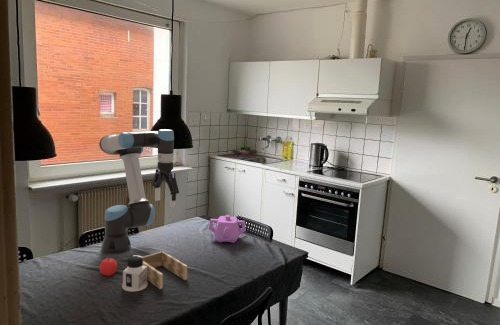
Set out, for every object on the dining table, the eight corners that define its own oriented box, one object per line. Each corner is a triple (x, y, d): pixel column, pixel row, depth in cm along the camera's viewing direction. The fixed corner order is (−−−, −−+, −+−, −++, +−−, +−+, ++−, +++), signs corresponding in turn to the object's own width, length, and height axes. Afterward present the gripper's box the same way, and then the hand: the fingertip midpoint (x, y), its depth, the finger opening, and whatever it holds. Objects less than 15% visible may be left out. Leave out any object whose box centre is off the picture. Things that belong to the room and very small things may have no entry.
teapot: (225, 248, 216) (226, 223, 214) (204, 239, 229) (205, 215, 226) (248, 240, 230) (250, 216, 228) (227, 231, 242) (228, 209, 240)
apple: (120, 271, 182) (120, 256, 181) (109, 279, 175) (109, 262, 173) (107, 268, 185) (107, 253, 183) (95, 275, 177) (95, 259, 176)
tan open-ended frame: (136, 272, 183) (136, 258, 181) (162, 263, 193) (162, 250, 191) (160, 289, 168) (160, 274, 167) (187, 279, 178) (187, 265, 177)
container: (138, 289, 165) (138, 262, 163) (122, 287, 167) (122, 259, 165) (147, 281, 173) (147, 254, 170) (131, 279, 174) (131, 252, 172)
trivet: (117, 284, 170) (117, 283, 170) (140, 277, 178) (140, 276, 178) (129, 294, 162) (129, 293, 162) (152, 286, 170) (152, 285, 170)
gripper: (145, 158, 190) (145, 199, 194) (173, 166, 173) (172, 211, 176) (158, 157, 195) (158, 196, 199) (187, 165, 178) (185, 208, 182)
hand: (164, 203), depth 188 cm, fingers open, 13 cm apart
